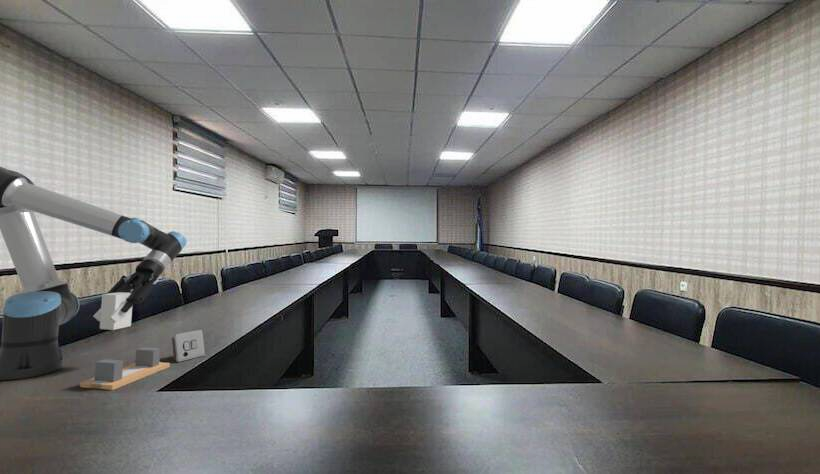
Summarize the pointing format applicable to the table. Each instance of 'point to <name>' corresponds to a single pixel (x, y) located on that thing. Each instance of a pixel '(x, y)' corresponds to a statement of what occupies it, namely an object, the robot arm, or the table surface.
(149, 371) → the board
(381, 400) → the table surface
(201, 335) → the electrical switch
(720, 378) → the table surface
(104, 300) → the block
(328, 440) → the table surface
